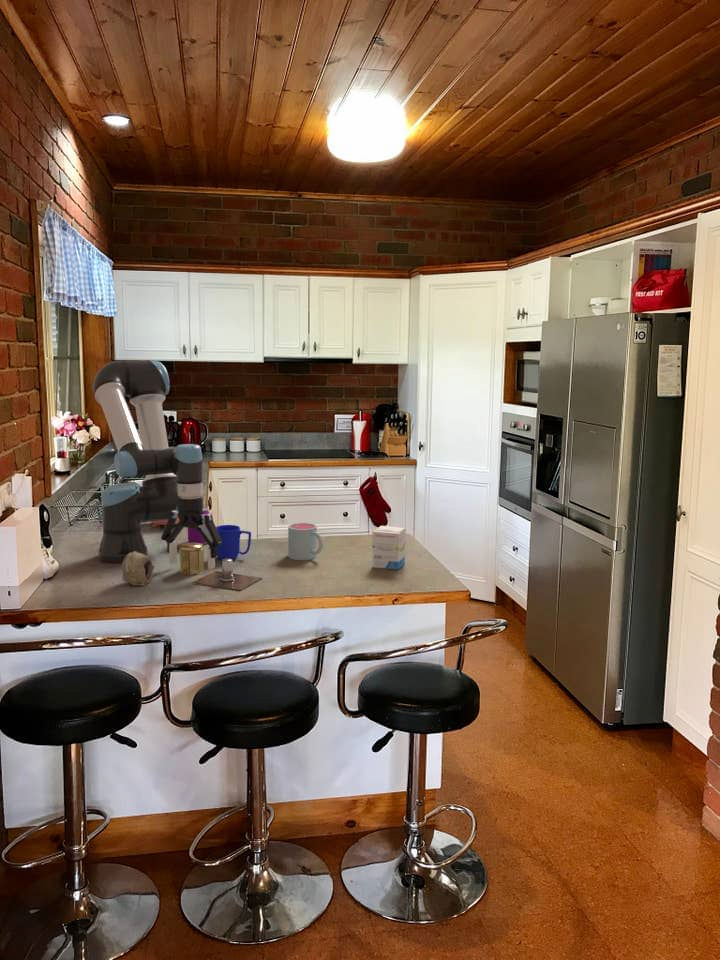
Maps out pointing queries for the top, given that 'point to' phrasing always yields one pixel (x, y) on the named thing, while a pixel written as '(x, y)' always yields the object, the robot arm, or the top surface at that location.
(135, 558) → the beige round pot
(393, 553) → the ink box
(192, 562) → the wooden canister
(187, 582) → the top surface
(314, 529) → the mug
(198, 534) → the beverage can
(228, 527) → the mug
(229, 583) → the square plate with knob
